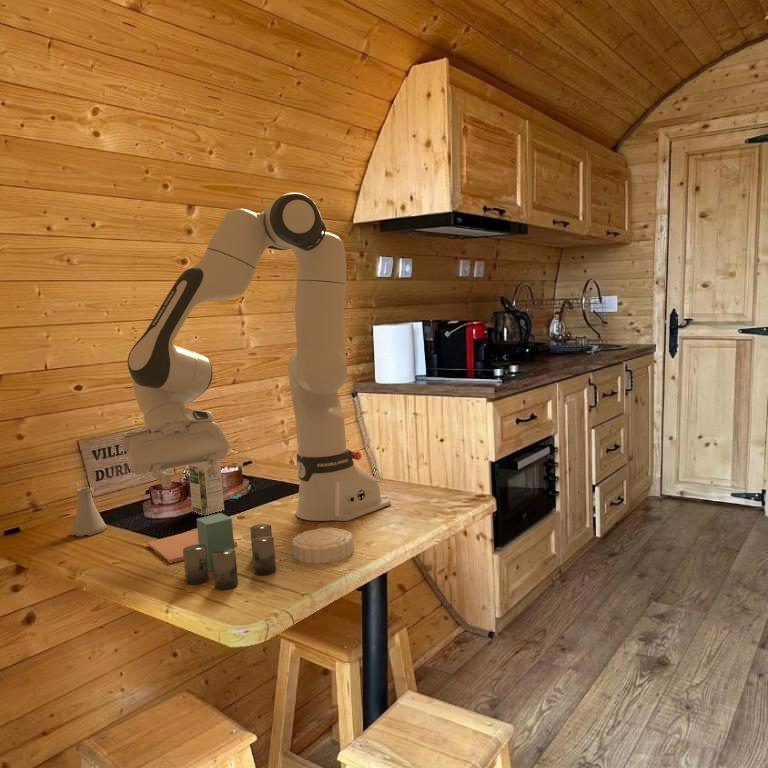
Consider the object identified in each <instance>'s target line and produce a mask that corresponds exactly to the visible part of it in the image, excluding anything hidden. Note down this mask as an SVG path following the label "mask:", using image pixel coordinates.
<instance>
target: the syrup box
mask: <svg viewBox="0 0 768 768" xmlns="http://www.w3.org/2000/svg"><path fill="white" fill-rule="evenodd" d="M187 466H188V476H189V486H190V487H189V489H190V500H191V509H192V508H193V511H194V512H196V513H195V514H197V513H198V514H197V515H200V514H201V515H200V516H203V515H204V516H203V517H206V515H208V516H210V515H209V514H211V515H213V514H212V513H214V514H216V513H215V512H217V513H220V512H223V511H225V503H224V501H225V500H223V493H224V490H223V478H222V466H221V459H218V460H216V464H215V468H216V471H217V476H216V477H213V478H208V475H207V473H206V471H207V469H208V467H211V465H208V462H202V463H197V464H192V465H187ZM222 510H223V511H222ZM219 511H220V512H219Z"/></svg>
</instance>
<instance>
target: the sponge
mask: <svg viewBox="0 0 768 768" xmlns="http://www.w3.org/2000/svg"><path fill="white" fill-rule="evenodd" d="M248 485H249V487H248V492H249V491H251V488H252V485H250V484H248ZM241 494H242V493H241ZM241 494H238V495H237V496H234V497H230V499H237V500H239V499H240V498H242V497H241V496H242V495H241ZM239 497H240V498H239ZM238 498H239V499H238Z"/></svg>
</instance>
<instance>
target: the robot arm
mask: <svg viewBox="0 0 768 768" xmlns="http://www.w3.org/2000/svg"><path fill="white" fill-rule="evenodd" d="M267 249H272V250H277V251H287V250H291V251H292V252H293V253H294V255H295V258H296V262H297V263H296V265H297V272H296V273H297V274H296V287H295V288H296V289H295V303H294V305H295V306H294V322H295V337H296V342H295V343H296V344H295V345H296V348H295V349H294V350H293V351H292V353H291V354H290V355H289V358H288V360H287V361H288V362H287V370H288V372H287V373H288V378H289V379H288V380H289V387H290V389H289V390H290V395H291V400H292V406H293V407H292V409H293V412H294V419H295V427H296V428H295V431H296V440H297V441H296V443H297V454H296V469H297V477H298V482H299V483H298V484H299V485H298V498H297V499H298V500H297V506H296V510H295V516H296V517H297V518H299V519H302V520H305V521H306V520H307V521H315V522H316V521H319V522H323V521H327V522H328V521H340V522H345V521H351V520H353V519H356V518H358V517H361V516H363V515H367V514H370V513H372V512H375V511H378V510H381V509H383V508H385V506H386V507H388V506H390V505H392V504H391V499H390V498H389V496H386V495H384V494H383V493H381V489H380V485H379V482H378V480H377V479H376V477H374V476H373V475H371V474H370V473H368V472H367V471H366V470H364V469H362V468H360V467H359V466H358V465H356V464H355V462H354V460H356V461H360V460H361V459H362V457H363V456H362V455H363V454H362V452H361V451H360V450H359V451H358V450H353V451H352V450H349V449H347V442H346V428H345V427H346V426H345V417H344V412H343V409H342V405H341V401H340V393H339V390H340V389H341V388H342V386H343V385H344V383H345V382H346V381H347V378H348V377H347V376H348V367H347V348H346V334H345V307H346V305H345V304H346V290H347V289H346V286H347V285H346V284H347V260H346V251H345V244H344V242H343V240H342V239H341V238H340V237H339V236H337V235H336V234H333V233H331V232H327V227H326V225H325V223H324V221H323V218H322V216H321V213H320V210H319V208H318V206H317V204H316V203H315V201H314V200H313V199H311V197H308V195H305V194H303V193H300V192H287V193H285V194H283V195H281V196H280V197H277V198H275V199H273V200H272V201H271V202H270V203H269V204H268V205H267V206H266V207H265V208H264V209H262V210H261V211H259V212H257V213H256V212H254V211H251V210H248V209H245V208H234V209H231V210H229V211H228V212H226V214H225V215H224V216H223V218H222V219H221V221H220V223H218V226H217V227H216V228H215V231H214V233H213V234H212V236H211V239H210V240H209V242H208V245H207V247H206V250H205V252H204V254H203V255H202V257H201V259H200V260H199V261H198V262H197V264H195V266H193V267H192V268H188V269H186V270H184V271H183V272H182V273H181V274H180V275H179V277H178V278H177V280H176V281H175V282H174V284H173V285H172V287H171V289H170V290H169V292H168V294H167V295H166V297H165V299H164V300H163V302H162V304H161V305H160V307H159V309H158V311H157V312H156V314H155V315H154V317H153V318H152V321H150V324H149V325H148V327H147V329H146V330H145V331H144V333H143V335H141V337H140V338H139V339H138V340H137V341H136V343H135V344H134V345H133V347H132V348H131V349H130V351H129V353H128V356H127V367H128V371H129V374H130V377H131V378H132V386H133V392H134V395H135V399H136V402H137V405H138V408H139V409H140V411H141V412H142V414H143V416H144V417H143V419H144V420H143V421H144V424H145V426H146V430H141V431H137V432H136V431H135V432H133V431H132V432H129V433H127V434H126V435H124V436H123V437H122V439H121V444H122V447H123V450H124V451H125V452H127V459H128V464H129V469H130V472H132V473H133V474H135V475H138V476H139V475H143V474H147V473H148V474H149V473H151V476H152V477H153V478H155V479H156V480H157V481H159V482H160V484H161V486H162V488H168V487H171V486H172V479H171V476H170V474H165V473H163V472H162V471H164V470H169V469H174V468H180V467H185V466H188V465H192V464H197V463H202V462H208V465H211V467H208V469H207V471H206V473H207V475H208V478H213V477H216V476H217V471H216V468H215V464H216V460H218V459H220V460H222V459H225V458H226V457H227V456H228V453H229V450H230V443H229V440H228V438H227V436H226V434H225V433H224V431H223V429H222V428H221V426H220V425H219V424H218V423H217V422H214V414H213V413H212V412H210V411H206V410H199V409H191V408H187V407H186V404H190V403H191V402H194V400H197V398H198V397H200V396H201V395H202V394H204V393H205V392H206V391H207V390H208V389H209V387H210V386H211V384H212V381H213V376H214V375H213V374H214V373H213V366H212V363H211V360H210V359H209V358H208V357H207V356H205V355H202V354H201V353H198V352H196V351H193V350H190V349H187V348H183V347H181V346H178V345H176V344H174V342H175V339H176V337H177V336H178V334H179V333H180V331H181V328H182V327H183V326H184V324H185V322H186V320H187V318H188V317H189V315H190V313H191V312H192V311H193V310H194V309H195V307H197V306H198V305H200V304H202V303H205V302H211V301H216V302H217V301H229V300H233V299H235V298H238V297H239V296H241V295H243V294H244V293H245V291H247V290H248V288H249V286H250V284H251V282H252V281H253V278H254V275H255V274H256V273H255V272H256V270H257V268H258V265H259V263H260V259H261V257H262V255H263V254H264V253H265V251H266V250H267Z"/></svg>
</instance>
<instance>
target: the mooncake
mask: <svg viewBox="0 0 768 768" xmlns="http://www.w3.org/2000/svg"><path fill="white" fill-rule="evenodd" d="M354 545H355V542H354V535H353V534H352V533H351V532H350V531H348V530H346V529H343V528H342V529H341V528H336V527H331V526H330V527H319V528H316V529H310V530H305V531H303V532H300V533H298V534H297V535H296V536H295V537H293V538H292V540H291V551H292V552H291V553H292V557H293V559H294V560H297V561H298V562H302V563H303V562H304V563H305V564H313V565H314V564H316V565H317V564H328V563H330V562H331V563H334V562H335V563H336V562H338V561H340V560H344V559H345V558H347V557H350V556H351V554H352V553H354V551H355V546H354Z"/></svg>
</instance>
